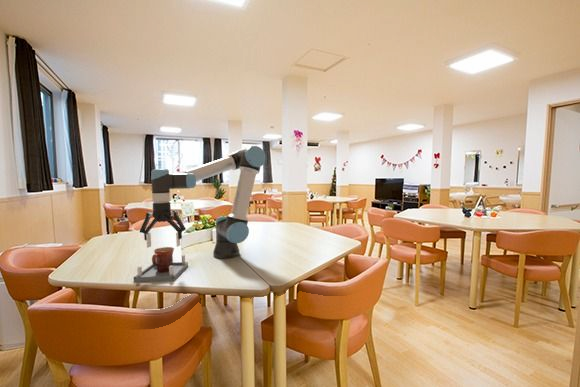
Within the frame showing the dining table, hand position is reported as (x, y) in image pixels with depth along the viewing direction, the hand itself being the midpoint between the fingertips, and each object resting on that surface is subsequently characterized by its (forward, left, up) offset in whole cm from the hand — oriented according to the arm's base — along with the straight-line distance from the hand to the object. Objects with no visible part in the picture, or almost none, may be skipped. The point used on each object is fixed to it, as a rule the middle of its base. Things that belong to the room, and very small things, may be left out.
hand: (163, 246), depth 124 cm
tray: (0, 0, -13) cm, 13 cm away
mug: (+1, 0, -12) cm, 12 cm away
